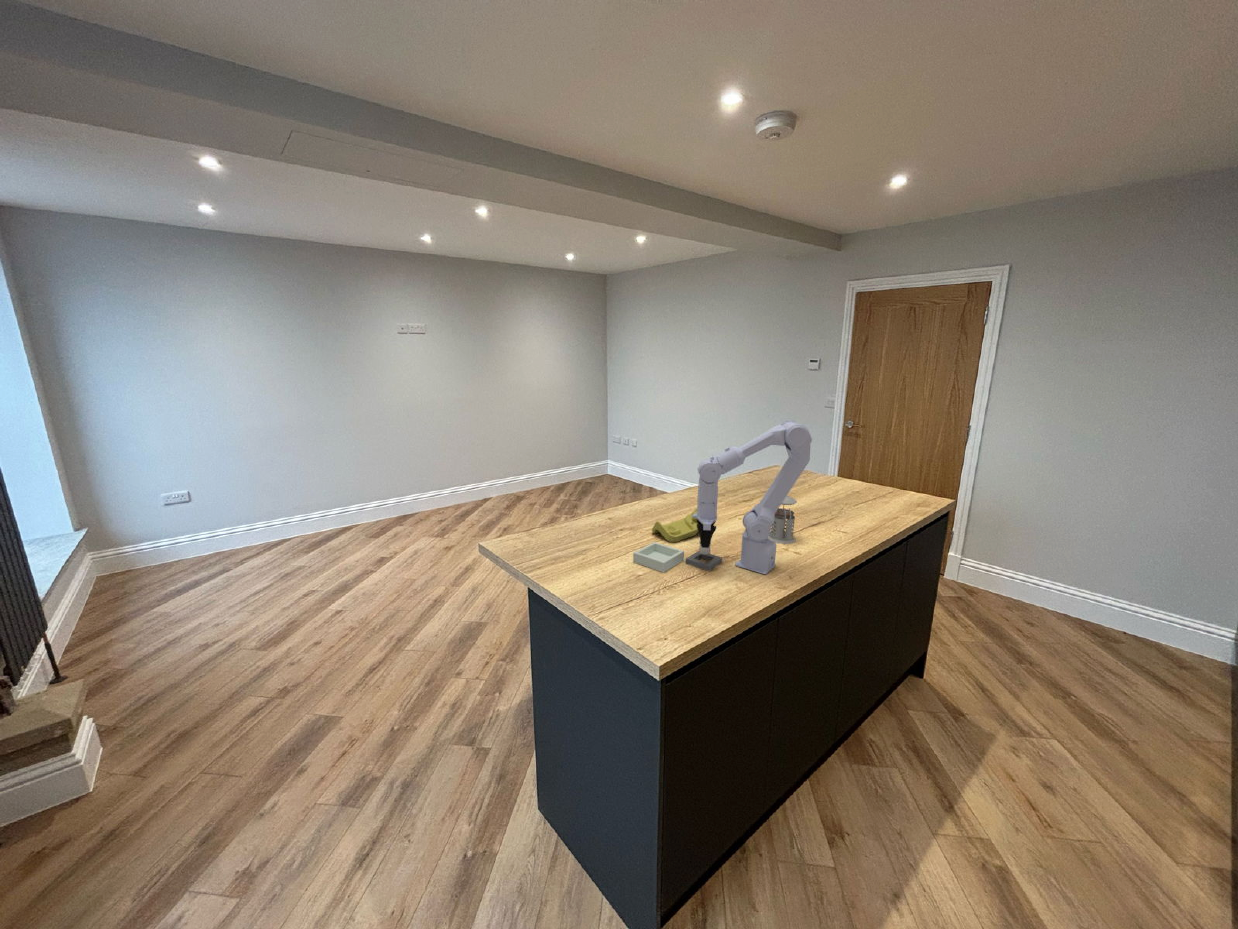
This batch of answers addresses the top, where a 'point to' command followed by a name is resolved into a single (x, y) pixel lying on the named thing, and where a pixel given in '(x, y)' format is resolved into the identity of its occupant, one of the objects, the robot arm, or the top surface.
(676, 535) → the plastic component
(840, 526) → the top surface
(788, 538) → the french press
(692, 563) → the gray square frame
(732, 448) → the robot arm
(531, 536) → the top surface
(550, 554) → the top surface
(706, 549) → the cylinder
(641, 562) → the parts tray
